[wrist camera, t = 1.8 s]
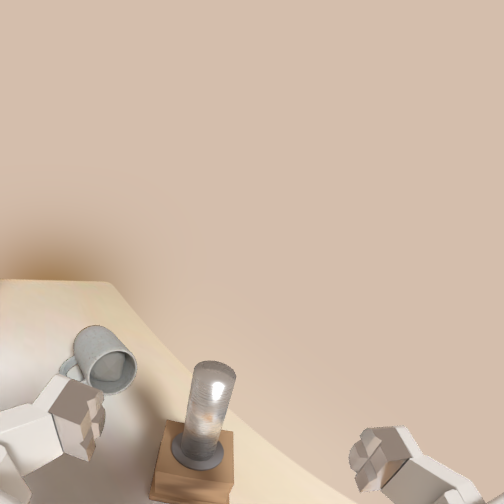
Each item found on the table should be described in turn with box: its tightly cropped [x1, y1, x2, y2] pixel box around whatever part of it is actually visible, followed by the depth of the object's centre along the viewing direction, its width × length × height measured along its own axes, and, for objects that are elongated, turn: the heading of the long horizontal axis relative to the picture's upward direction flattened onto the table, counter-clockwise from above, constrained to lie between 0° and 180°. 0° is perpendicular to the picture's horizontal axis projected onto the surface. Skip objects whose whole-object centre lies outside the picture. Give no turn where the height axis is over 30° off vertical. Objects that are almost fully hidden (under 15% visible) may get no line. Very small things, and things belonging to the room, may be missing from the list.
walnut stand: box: [149, 420, 234, 504], centre depth 24 cm, size 8×8×6 cm
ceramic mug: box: [59, 325, 137, 395], centre depth 34 cm, size 11×8×8 cm
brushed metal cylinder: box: [181, 361, 236, 461], centre depth 22 cm, size 3×3×10 cm
